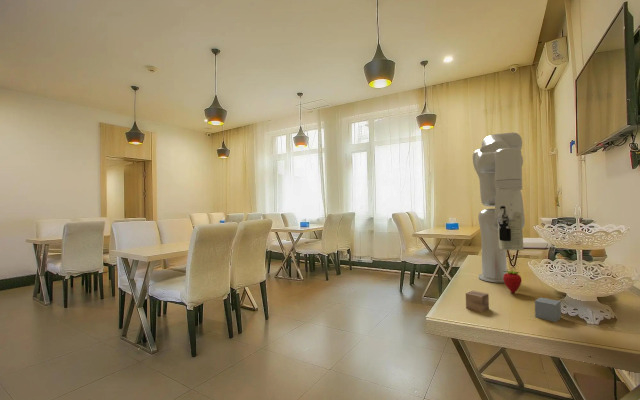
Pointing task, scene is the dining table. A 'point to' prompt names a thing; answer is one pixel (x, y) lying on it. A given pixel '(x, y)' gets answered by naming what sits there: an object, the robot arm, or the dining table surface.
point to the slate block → (548, 309)
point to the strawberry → (512, 280)
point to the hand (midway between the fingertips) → (510, 239)
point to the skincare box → (513, 235)
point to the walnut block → (477, 301)
